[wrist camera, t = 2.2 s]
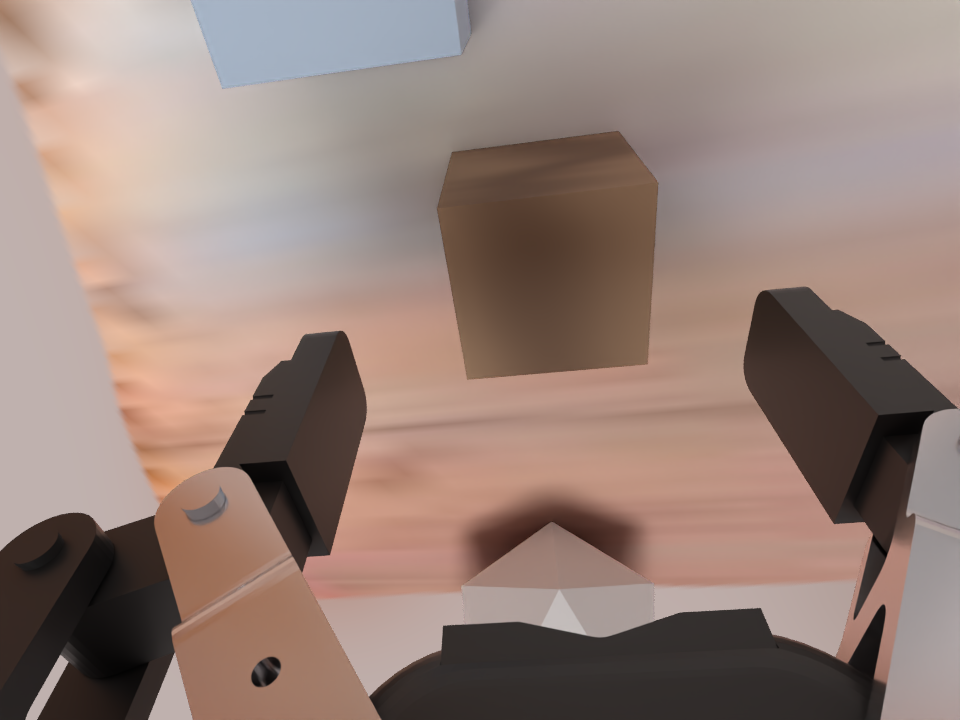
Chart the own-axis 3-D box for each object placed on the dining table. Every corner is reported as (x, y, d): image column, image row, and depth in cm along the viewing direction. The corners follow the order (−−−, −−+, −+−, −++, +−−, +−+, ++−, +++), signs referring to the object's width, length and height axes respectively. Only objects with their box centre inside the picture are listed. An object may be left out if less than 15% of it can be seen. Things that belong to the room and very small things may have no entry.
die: (457, 492, 25) (478, 586, 32) (442, 722, 18) (473, 777, 25) (647, 487, 24) (626, 584, 31) (701, 724, 18) (659, 780, 25)
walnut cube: (618, 130, 16) (658, 182, 12) (615, 280, 19) (647, 364, 15) (452, 151, 17) (437, 208, 13) (474, 295, 19) (467, 379, 15)
